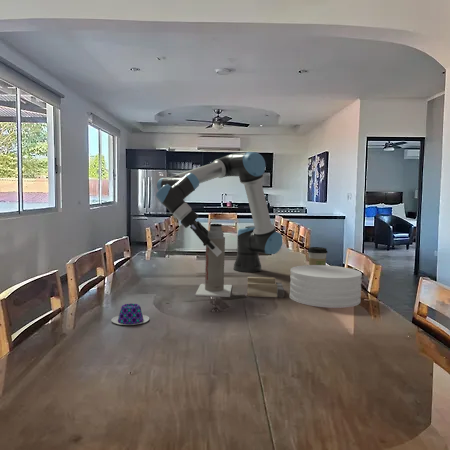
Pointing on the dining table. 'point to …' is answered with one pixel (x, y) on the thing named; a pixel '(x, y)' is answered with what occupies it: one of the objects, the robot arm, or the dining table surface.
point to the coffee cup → (317, 255)
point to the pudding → (130, 315)
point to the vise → (264, 287)
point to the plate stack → (325, 286)
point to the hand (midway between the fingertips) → (220, 252)
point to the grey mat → (223, 293)
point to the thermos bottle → (215, 260)
